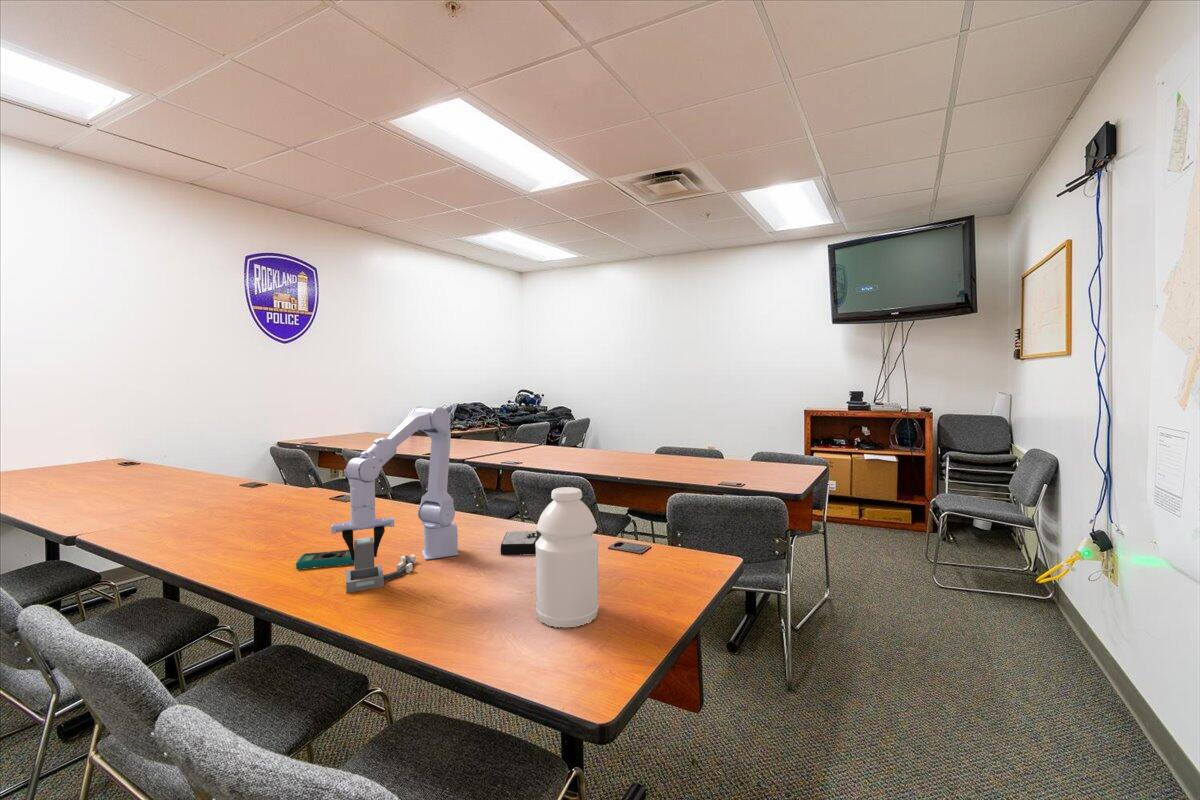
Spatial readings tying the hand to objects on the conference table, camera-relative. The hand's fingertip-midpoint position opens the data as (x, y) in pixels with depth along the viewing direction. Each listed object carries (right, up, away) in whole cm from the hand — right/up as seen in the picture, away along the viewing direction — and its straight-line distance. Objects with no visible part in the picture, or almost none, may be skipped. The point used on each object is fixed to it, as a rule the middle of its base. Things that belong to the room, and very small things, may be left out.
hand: (364, 557), depth 132 cm
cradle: (0, -7, 0) cm, 7 cm away
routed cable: (+5, -6, +9) cm, 12 cm away
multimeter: (+40, -6, +28) cm, 49 cm away
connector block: (0, -2, 0) cm, 2 cm away
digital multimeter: (-17, -7, +15) cm, 24 cm away
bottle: (+53, -8, -17) cm, 56 cm away
